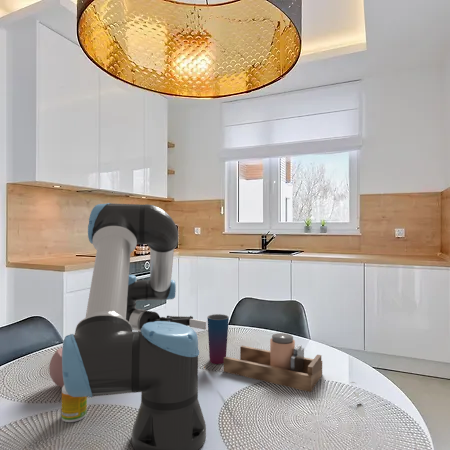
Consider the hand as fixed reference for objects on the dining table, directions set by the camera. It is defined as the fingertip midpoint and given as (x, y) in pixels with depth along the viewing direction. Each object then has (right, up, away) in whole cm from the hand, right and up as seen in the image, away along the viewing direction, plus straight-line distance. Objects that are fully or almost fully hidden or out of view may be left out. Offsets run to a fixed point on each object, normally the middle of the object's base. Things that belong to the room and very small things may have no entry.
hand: (194, 330), depth 118 cm
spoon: (+43, -10, -29) cm, 53 cm away
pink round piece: (-31, -9, -21) cm, 39 cm away
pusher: (+30, -8, -17) cm, 36 cm away
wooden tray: (+24, -9, -13) cm, 29 cm away
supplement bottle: (-25, -9, -36) cm, 45 cm away
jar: (+27, -8, -15) cm, 31 cm away
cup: (+8, -9, -4) cm, 13 cm away
